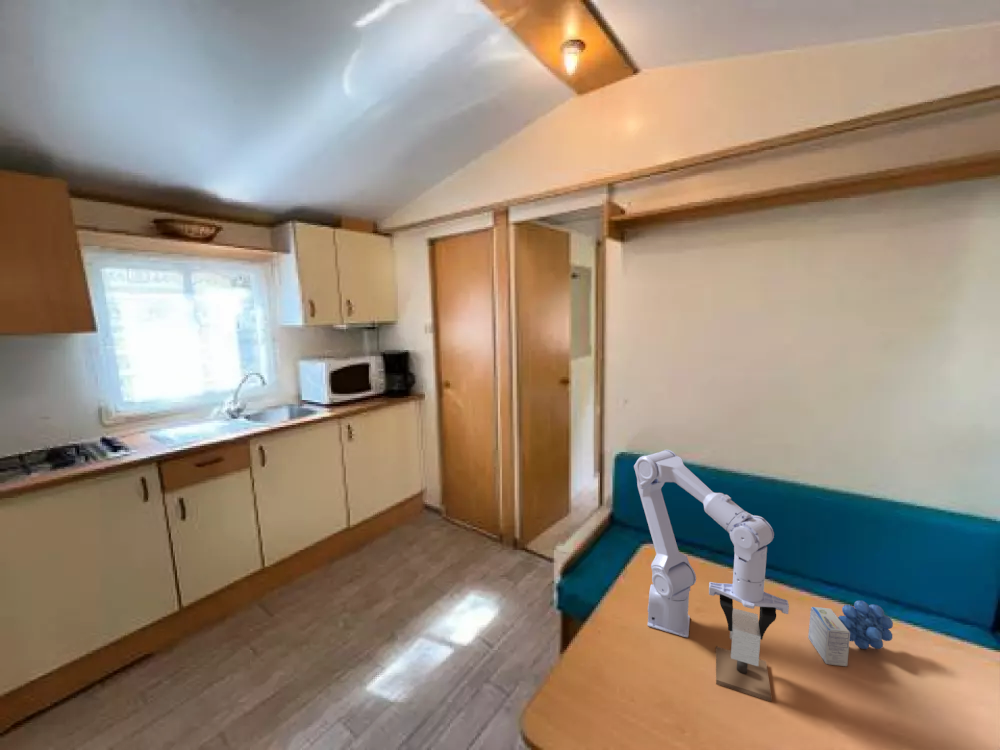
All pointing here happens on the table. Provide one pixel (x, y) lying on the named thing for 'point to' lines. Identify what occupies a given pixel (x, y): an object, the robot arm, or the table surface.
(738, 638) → the brushed steel brick
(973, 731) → the table surface
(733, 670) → the thin tan panel
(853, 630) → the grapes
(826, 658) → the medicine box
